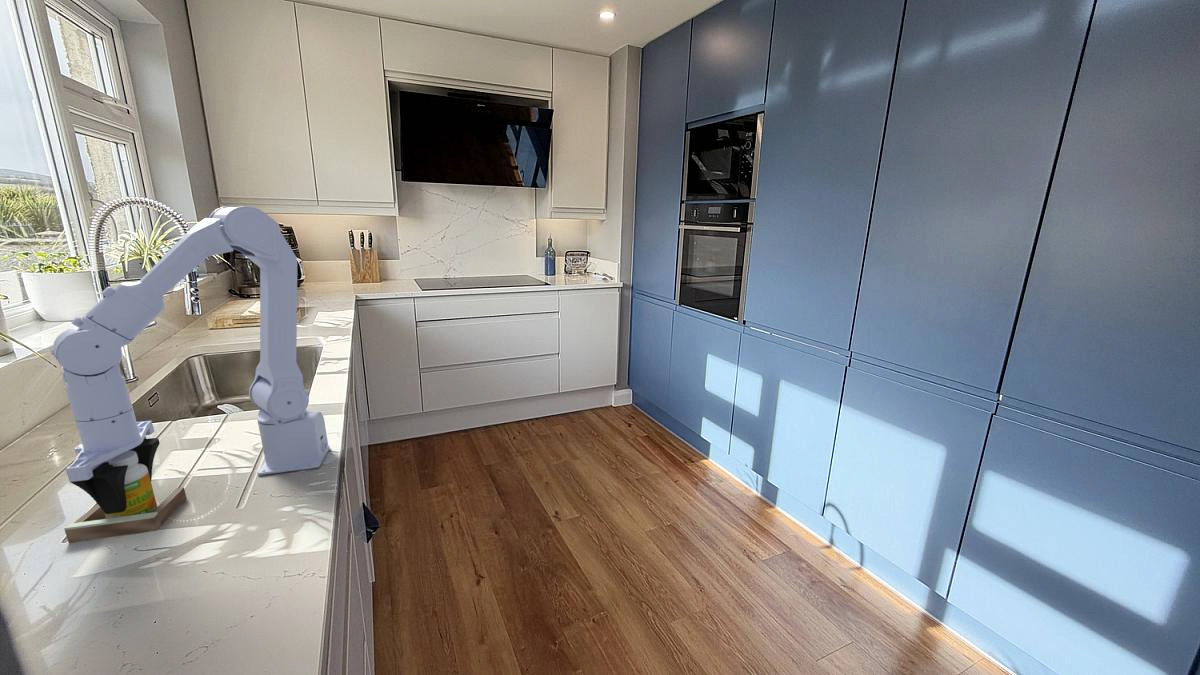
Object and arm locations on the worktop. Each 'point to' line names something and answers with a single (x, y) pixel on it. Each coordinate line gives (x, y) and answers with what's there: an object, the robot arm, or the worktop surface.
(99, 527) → the dock
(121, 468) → the robot arm
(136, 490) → the supplement bottle
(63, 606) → the worktop surface
